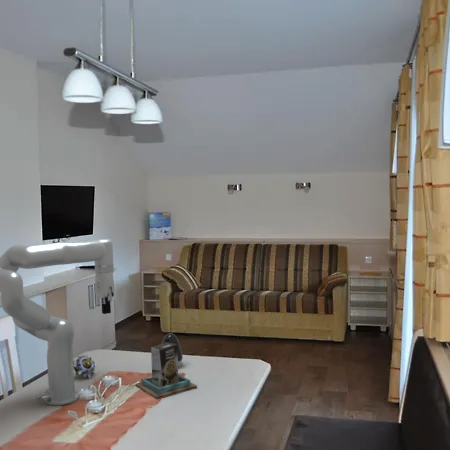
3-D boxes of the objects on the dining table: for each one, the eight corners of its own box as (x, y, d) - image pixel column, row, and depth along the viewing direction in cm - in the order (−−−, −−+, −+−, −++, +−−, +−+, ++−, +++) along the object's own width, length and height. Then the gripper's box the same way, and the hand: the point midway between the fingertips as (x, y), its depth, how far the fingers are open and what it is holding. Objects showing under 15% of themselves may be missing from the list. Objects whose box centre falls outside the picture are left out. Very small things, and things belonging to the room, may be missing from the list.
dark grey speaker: (156, 370, 239) (154, 336, 238) (165, 362, 249) (164, 329, 248) (177, 371, 236) (176, 337, 235) (186, 363, 246) (184, 330, 245)
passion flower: (89, 390, 233) (81, 373, 225) (69, 382, 237) (60, 366, 229) (104, 369, 240) (97, 352, 233) (84, 362, 245) (76, 345, 237)
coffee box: (163, 390, 212) (161, 349, 211) (151, 386, 217) (150, 347, 215) (179, 383, 219) (177, 344, 218) (168, 380, 224) (166, 341, 222)
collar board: (156, 399, 206) (156, 391, 206) (135, 386, 221) (135, 379, 220) (196, 387, 216) (196, 380, 216) (174, 375, 231) (173, 369, 231)
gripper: (88, 268, 227) (91, 311, 229) (102, 272, 215) (104, 317, 217) (105, 266, 232) (107, 308, 233) (120, 270, 220) (122, 314, 221)
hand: (106, 313), depth 225 cm, fingers closed
